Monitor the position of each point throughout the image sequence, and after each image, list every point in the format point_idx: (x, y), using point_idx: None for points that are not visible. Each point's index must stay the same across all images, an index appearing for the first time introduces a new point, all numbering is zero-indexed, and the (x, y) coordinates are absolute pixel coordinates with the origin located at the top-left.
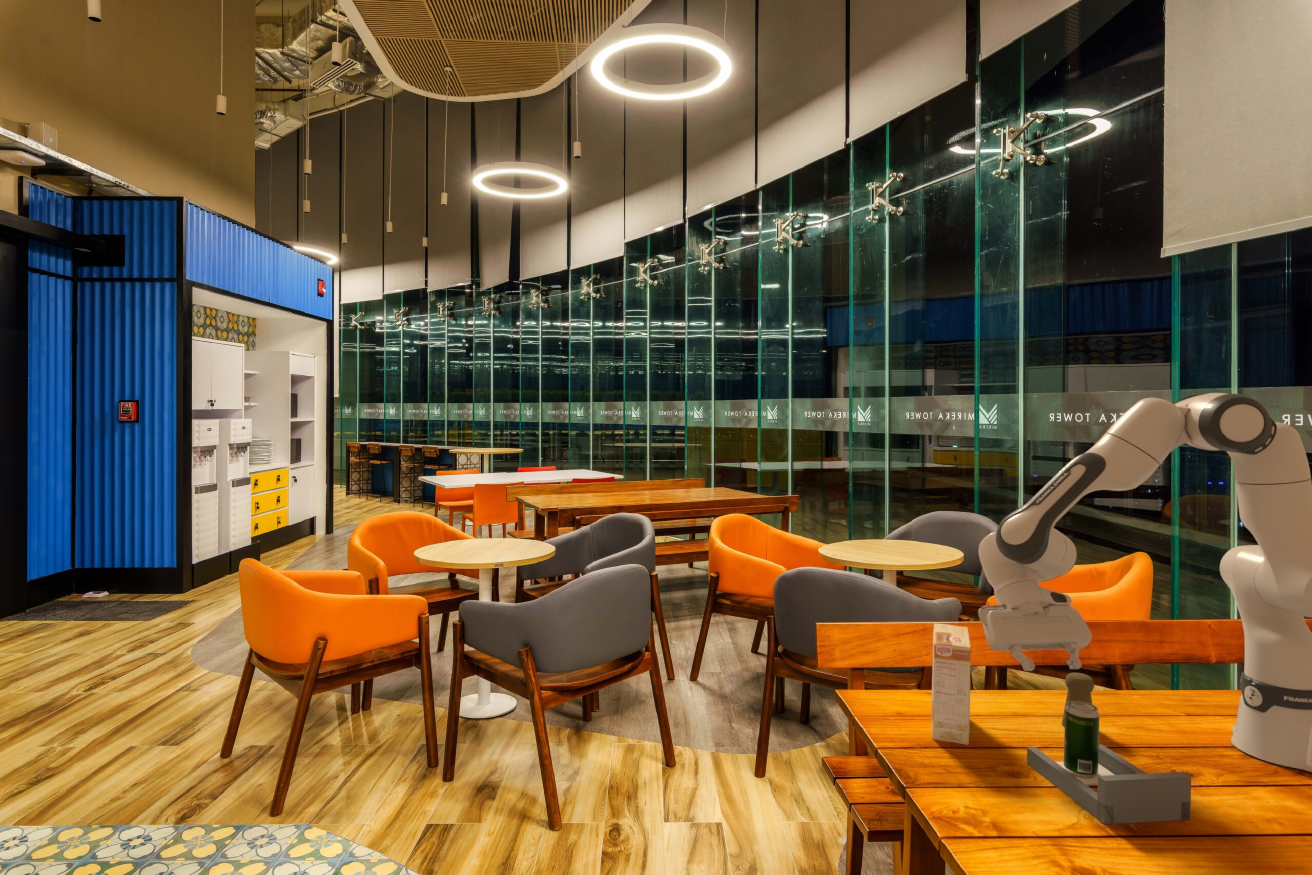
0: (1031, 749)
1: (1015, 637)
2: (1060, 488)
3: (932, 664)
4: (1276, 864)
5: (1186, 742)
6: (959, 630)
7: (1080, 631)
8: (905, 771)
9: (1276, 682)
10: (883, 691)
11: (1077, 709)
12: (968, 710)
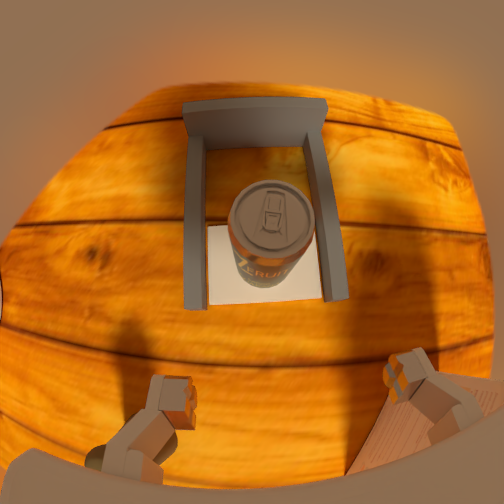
0: (345, 288)
1: (498, 435)
2: None
3: None
4: (180, 85)
5: (32, 348)
6: None
7: (45, 502)
8: (485, 271)
9: None
10: None
11: (301, 196)
12: (437, 372)
